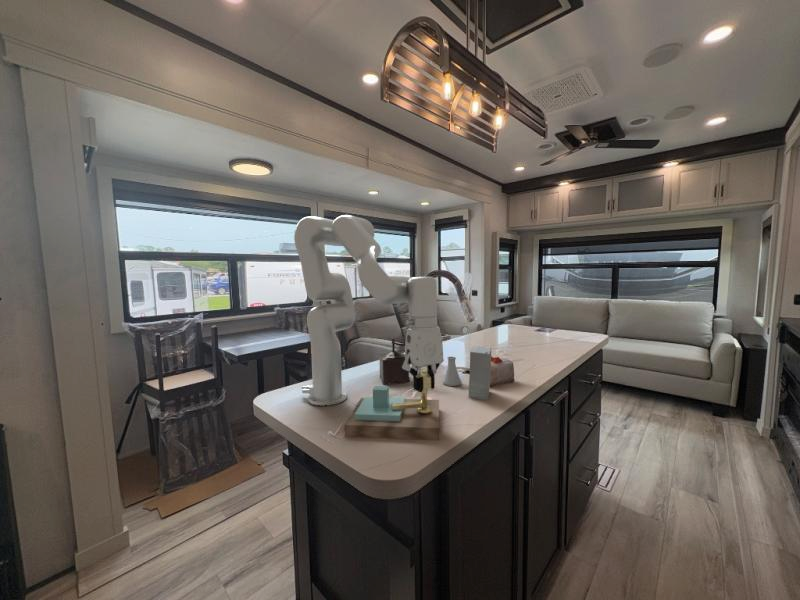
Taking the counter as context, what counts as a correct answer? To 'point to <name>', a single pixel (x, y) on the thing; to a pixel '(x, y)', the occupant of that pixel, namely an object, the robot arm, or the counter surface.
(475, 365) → the skincare box
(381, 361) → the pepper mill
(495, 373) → the food item
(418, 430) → the base
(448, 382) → the flask
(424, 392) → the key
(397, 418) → the cover
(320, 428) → the counter surface
